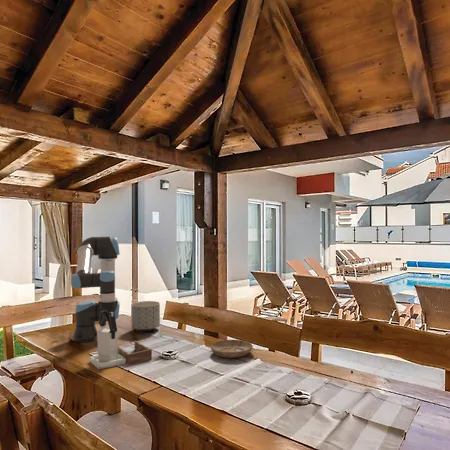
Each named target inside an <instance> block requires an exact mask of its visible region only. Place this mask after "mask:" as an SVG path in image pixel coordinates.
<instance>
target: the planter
mask: <svg viewBox="0 0 450 450" xmlns="http://www.w3.org/2000/svg"><path fill="white" fill-rule="evenodd" d="M160 304H161V303H160V302H159V301H157V300H155V301H154V300H153V301H152V300H142V301H136V302H132V303H131V305H130V307H131V308H130V309H131V315H130V316H131V328H132V329H135V330H136V331H139V332H142V333H143V332H144V333H146V332H151V331H153V330H155V329H156V328H159V327H160V326H161V321H160V320H161V317H160V316H161V311H160V309H161V305H160Z"/></svg>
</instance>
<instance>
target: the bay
mask: <svg viewBox="0 0 450 450" xmlns="http://www.w3.org/2000/svg"><path fill="white" fill-rule="evenodd" d="M134 351H136V352H132V353H129V352H128V351H126V350H125V349H123V348H121V346H118V353H119V354H120V355H122V356H123V357H125V358H126V364H127V363H128V365H132V364H136V363H140V362H144V361H148V360H152V358H153V357H152V355H153V354H152V353H153V351H152V348H149V347H148V346H146V345H145V344H142V343H141V342H140V341H137V340H134ZM131 363H132V364H131Z"/></svg>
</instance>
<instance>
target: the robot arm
mask: <svg viewBox="0 0 450 450" xmlns="http://www.w3.org/2000/svg"><path fill="white" fill-rule="evenodd" d="M120 253H121V252H120V247H119V239H118V238H117V237H115V236H90V237H88V238H85V239H84V240H83V241H81V243H79V245H78V247H77V249H76V255H77V262H76V263H77V264H76V270H75V273H73V274H71V276H70V277H71V278H70V286H71V288H73V289H85V288H86V289H87V288H99V299H98V302H96V301H95V300H85V301H81V302H79V303H77V304H76V305H75V311H74V313H75V328H74V332H73V335H72V341H73V342H74V343H88V342H93V341H95V340H97V332H98V329H97V328H96V322H98V325H99V326H100V330H102V329H107V325H108V327H109V328H108V329H110V332H109V333H110V346H111V345H115V332H117V333H118V328H117V327H118V326H117V321H116V320H118V318H119V313H120V304H121V302H120V301H118V298H117V297H116V260H117V259H118V256H119V255H120ZM93 256H98V257H97V258H98V260H100V272H95V273H93V272H92V273H91V271H92V257H93ZM113 329H114V330H113ZM100 330H99V331H100Z"/></svg>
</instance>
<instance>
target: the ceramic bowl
mask: <svg viewBox="0 0 450 450" xmlns="http://www.w3.org/2000/svg"><path fill="white" fill-rule="evenodd" d="M252 349H253V344H252V343H251V342H249V341H245V340H241V339H224V340H219V341H215V342H213V343H212V344H211V345H210V350H211V351H212V353H214V355H217V356H218V357H223V358H228V359H229V358H231V359H234V358H235V359H236V358H242V357H243V356H247V355H248V354H249V353H250V352H251V351H252Z"/></svg>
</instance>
